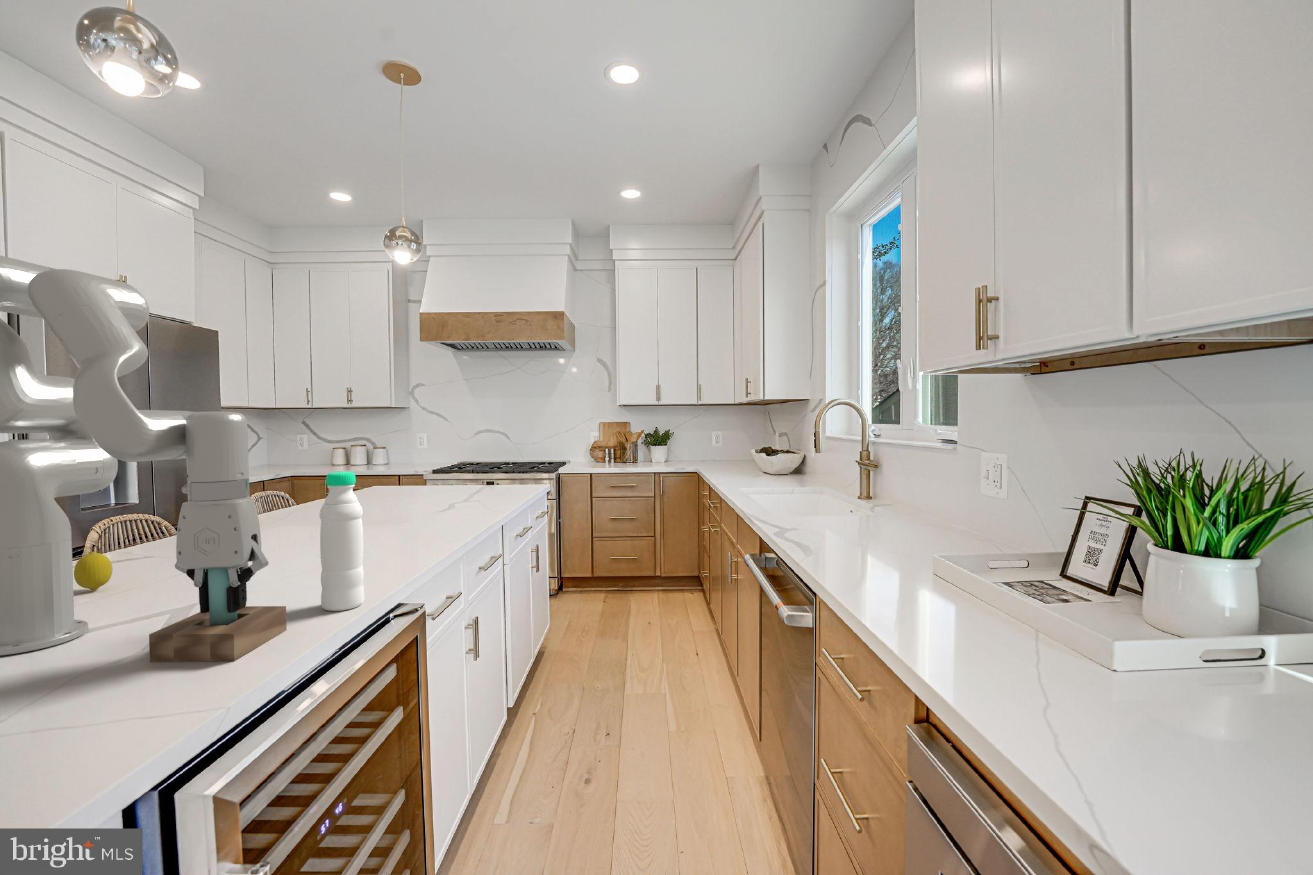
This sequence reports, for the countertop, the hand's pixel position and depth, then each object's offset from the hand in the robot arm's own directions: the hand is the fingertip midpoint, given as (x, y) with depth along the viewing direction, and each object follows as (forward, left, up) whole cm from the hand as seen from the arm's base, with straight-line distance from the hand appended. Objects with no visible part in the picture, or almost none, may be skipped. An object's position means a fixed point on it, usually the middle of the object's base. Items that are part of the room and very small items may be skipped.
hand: (223, 608), depth 88 cm
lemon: (-46, +28, -6) cm, 54 cm away
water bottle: (+9, +18, -6) cm, 21 cm away
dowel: (0, 0, -2) cm, 2 cm away
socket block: (0, 0, -6) cm, 6 cm away
